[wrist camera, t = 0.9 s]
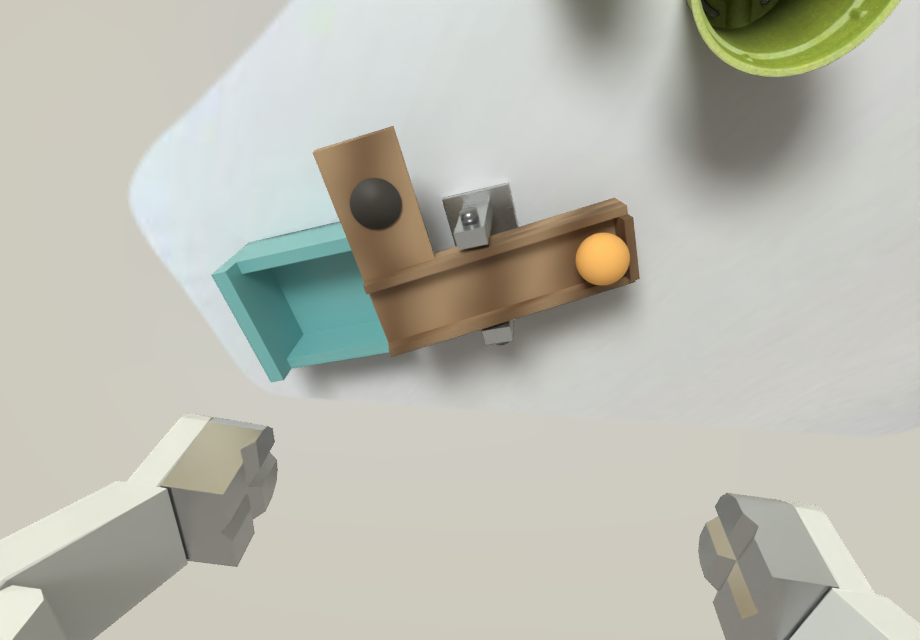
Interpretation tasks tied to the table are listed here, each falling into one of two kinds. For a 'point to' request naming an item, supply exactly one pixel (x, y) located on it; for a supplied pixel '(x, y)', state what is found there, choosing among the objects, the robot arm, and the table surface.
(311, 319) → the teal tray
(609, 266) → the ball
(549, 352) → the table surface
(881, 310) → the table surface
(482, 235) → the fulcrum
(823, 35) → the plant pot
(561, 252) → the lever
